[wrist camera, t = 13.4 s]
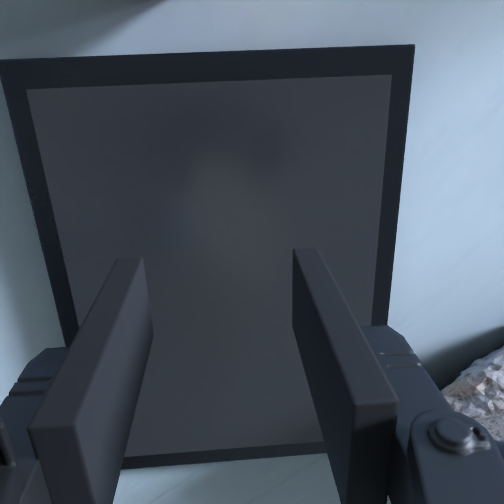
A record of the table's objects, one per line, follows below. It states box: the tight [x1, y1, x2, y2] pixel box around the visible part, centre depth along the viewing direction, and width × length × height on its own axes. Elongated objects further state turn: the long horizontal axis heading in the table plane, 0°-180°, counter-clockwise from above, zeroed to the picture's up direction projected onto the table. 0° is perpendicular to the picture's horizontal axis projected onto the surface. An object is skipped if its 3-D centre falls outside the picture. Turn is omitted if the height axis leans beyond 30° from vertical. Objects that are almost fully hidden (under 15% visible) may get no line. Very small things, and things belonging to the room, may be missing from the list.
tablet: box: [0, 44, 415, 470], centre depth 24 cm, size 18×24×1 cm
